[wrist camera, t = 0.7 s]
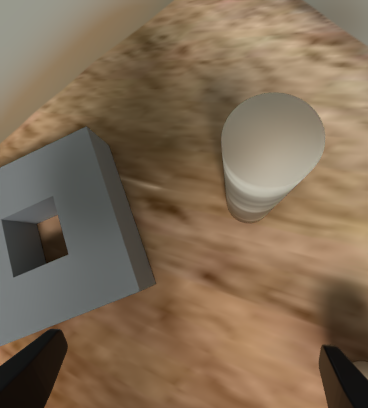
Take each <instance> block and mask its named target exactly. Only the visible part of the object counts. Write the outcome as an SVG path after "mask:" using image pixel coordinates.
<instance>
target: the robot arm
mask: <svg viewBox="0 0 368 408" xmlns="http://www.w3.org/2000/svg"><path fill="white" fill-rule="evenodd" d="M67 348H68V344H67V341H66V339H65V337H64V334H63V332H62V330H60V329H50V330H48V331H46V332H45V333H44V334H42V335H41V336H40V337H38V338H37V339H36V340H34V341H33V342H32V343H30V344H29V345H28V346H26V347H25V348H24V349H22V350H21V351H20V352H18V353H17V354H16V355H14V356H13V357H12V358H10V359H9V360H8V361H6V362H5V363H4V364H2V365H1V366H0V408H44V407H45V405H46V402H47V400H48V398H49V396H50V393H51V391H52V389H53V386H54V383H55V381H56V378H57V376H58V373H59V370H60V368H61V365H62V363H63V360H64V357H65V355H66V352H67ZM319 370H320V374H321V378H322V383H323V387H324V391H325V395H326V400H327V404H328V408H368V379H367V378H366V377H365V376H364V375H363V374H362V373H361V372H360V370H359V369H358V368H357V367H356V366H355V365H354V364H353V363H352V362H351V361H350V360H349V358H348V357H347V356H346V355H345V354H344V353H343V352H342V351H341V350H340V349H339V348H338V347H337V346H335V345H322V346H321V350H320V357H319Z"/></svg>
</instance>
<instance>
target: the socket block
mask: <svg viewBox="0 0 368 408" xmlns="http://www.w3.org/2000/svg"><path fill="white" fill-rule="evenodd" d="M56 215H58V217H59V220H60V224H61V228H62V232H63V235H64V239H65V243H66V246H67V250H68V255H66V256H64V257H61V258H59V259H57V260H54V261H52V262H49V263H47V264H46V261H45V257H44V253H43V249H42V244H41V240H40V236H39V232H38V228H37V224H38V223H40V222H42V221H44V220H47V219H49V218H51V217H53V216H56ZM155 284H156V282H155V279H154V276H153V274H152V271H151V268H150V265H149V262H148V259H147V256H146V253H145V250H144V247H143V244H142V241H141V238H140V235H139V233H138V230H137V227H136V224H135V221H134V218H133V215H132V212H131V209H130V206H129V203H128V200H127V197H126V194H125V192H124V189H123V186H122V183H121V180H120V177H119V174H118V171H117V168H116V165H115V162H114V159H113V156H112V153H111V151H110V148H109V145H108V144H107V143H105V142H104V141H103V140H102V139H101V138H99V137H98V136H97V135H96V134H95V133H94V132H92V131H91V130H90V129H89V128H88V127H87V126H86V127H84V128H82V129H80V130H78V131H76V132H74V133H72V134H70V135H67V136H65V137H63V138H61V139H59V140H57V141H55V142H53V143H51V144H49V145H46V146H44V147H42V148H40V149H38V150H36V151H34V152H32V153H30V154H28V155H26V156H23V157H21V158H19V159H17V160H15V161H13V162H11V163H9V164H7V165H5V166H2V167H0V346H2V345H5V344H7V343H10V342H12V341H15V340H17V339H20V338H22V337H25V336H27V335H30V334H33V333H35V332H38V331H40V330H43V329H45V328H48V327H50V326H53V325H55V324H58V323H61V322H63V321H66V320H68V319H71V318H73V317H76V316H78V315H81V314H83V313H86V312H89V311H91V310H94V309H96V308H99V307H101V306H104V305H106V304H109V303H111V302H114V301H116V300H119V299H122V298H124V297H127V296H129V295H132V294H134V293H137V292H139V291H142V290H144V289H146V288H148V287H150V286H153V285H155Z"/></svg>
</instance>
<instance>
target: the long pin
mask: <svg viewBox="0 0 368 408" xmlns="http://www.w3.org/2000/svg"><path fill="white" fill-rule="evenodd" d="M221 146H222V156H223V167H224V177H225V187H226V197H227V206H228V210H229V212H230V213H231V215H232V216H233V217H234V218H235V219H237V220H238V221H240V222H244V223H254V222H257V221H260V220H261V219H263V218H264V217H265V216H266V215H267V214H268V213H269V212H270V211H271V210H272V209H273V208H274V207H275V206H276V205H277V204H278V203H279V202H280V201H281V200H282V199H283V198H284V197H285V196H286V195H287V194H288V193H289V192H290V191H291V190H292V189H293V188H294V187H295V186H296V185H297V184H298V183H299V182H300V181H301V180H302V179H303V178H304V177H305V176H306V175H307V174H308V173H309V172H310V171H311V170H312V169H313V168H314V167H315V166H316V164H317V163H318V161H319V160H320V158H321V156H322V153H323V150H324V146H325V131H324V127H323V123H322V121H321V119H320V117H319V116H318V114H317V113H316V111H315V110H314V109H313V108H312V107H311V106H310V105H309V104H308V103H306V102H305V101H303V100H302V99H300V98H297V97H295V96H292V95H289V94H285V93H264V94H260V95H256V96H254V97H251V98H249V99H247V100H245V101H244V102H242V103H241V104H239V105H238V106H237V107H236V108H235V109H234V110H233V111H232V112H231V114H230V115H229V116H228V118H227V120H226V122H225V124H224V127H223V130H222V135H221Z"/></svg>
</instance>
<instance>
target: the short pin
mask: <svg viewBox="0 0 368 408" xmlns="http://www.w3.org/2000/svg"><path fill="white" fill-rule="evenodd" d="M352 363H353V364H354V365H355V366H356V367H357V368H358V369H359V370H360V372H361V373H362V374H363V375H364V376H365V377H366V378H367V379H368V362H366V361H356V362H352Z"/></svg>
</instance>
